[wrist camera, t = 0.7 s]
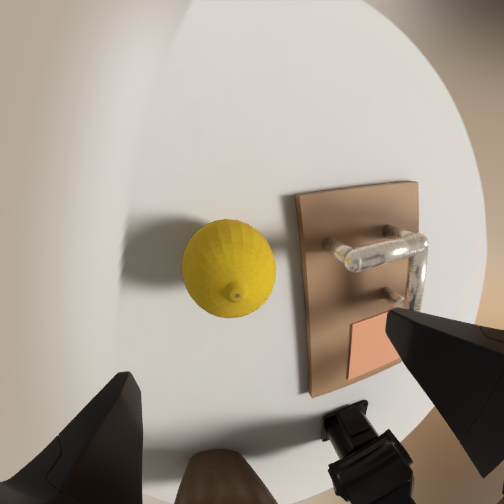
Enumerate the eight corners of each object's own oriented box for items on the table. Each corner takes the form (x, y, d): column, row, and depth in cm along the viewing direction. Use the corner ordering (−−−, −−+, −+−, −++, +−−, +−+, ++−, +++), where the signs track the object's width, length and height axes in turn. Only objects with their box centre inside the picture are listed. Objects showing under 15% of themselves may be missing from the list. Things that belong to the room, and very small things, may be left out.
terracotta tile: (401, 355, 27) (402, 356, 27) (347, 378, 26) (348, 380, 26) (411, 301, 25) (412, 302, 24) (351, 323, 24) (352, 324, 23)
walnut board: (396, 357, 28) (401, 362, 27) (308, 392, 27) (311, 398, 26) (410, 181, 22) (417, 182, 21) (294, 194, 20) (299, 195, 19)
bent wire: (391, 297, 24) (422, 320, 19) (322, 320, 23) (348, 351, 18) (394, 220, 21) (432, 233, 17) (318, 235, 20) (350, 254, 16)
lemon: (174, 267, 20) (162, 324, 12) (202, 198, 19) (205, 217, 11) (240, 292, 21) (263, 354, 14) (271, 228, 20) (313, 263, 13)
